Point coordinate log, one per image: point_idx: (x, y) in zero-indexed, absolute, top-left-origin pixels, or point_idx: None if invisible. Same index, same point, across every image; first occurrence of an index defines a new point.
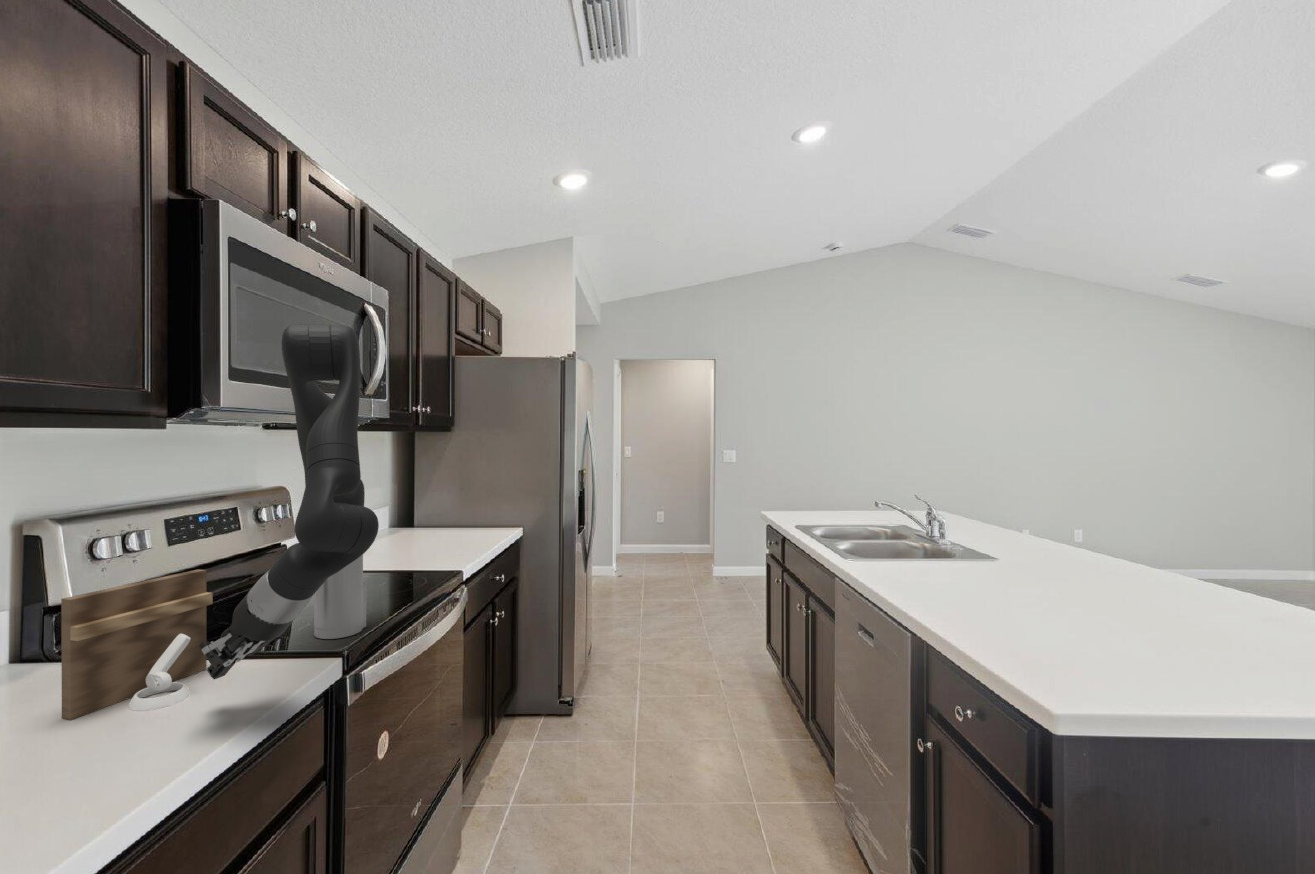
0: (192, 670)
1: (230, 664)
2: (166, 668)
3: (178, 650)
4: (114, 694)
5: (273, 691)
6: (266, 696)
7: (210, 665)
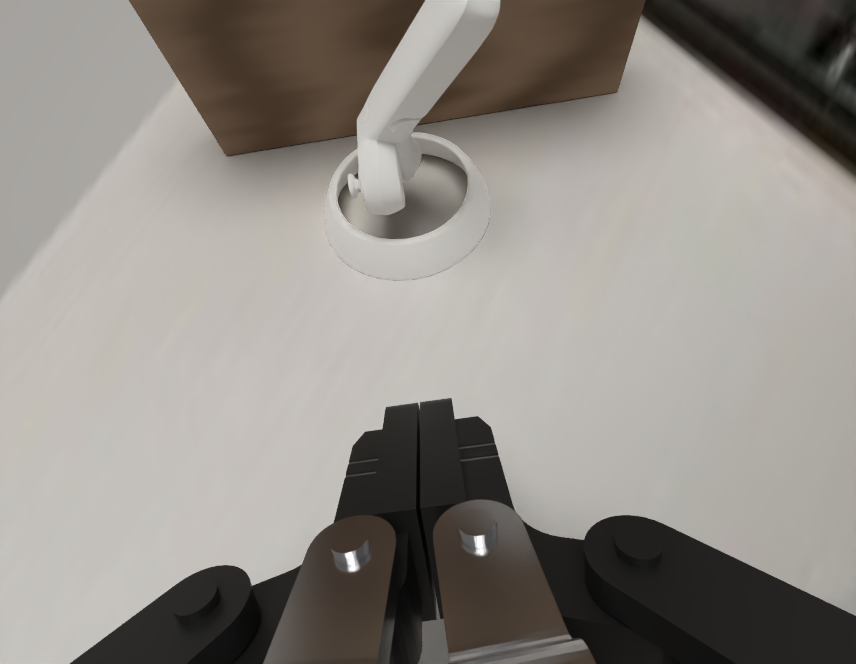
0: (571, 87)
1: (430, 619)
2: (393, 134)
3: (428, 72)
4: (326, 113)
5: (700, 522)
6: None
7: (347, 475)
